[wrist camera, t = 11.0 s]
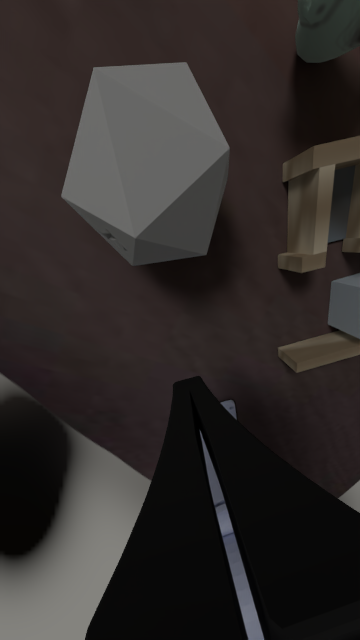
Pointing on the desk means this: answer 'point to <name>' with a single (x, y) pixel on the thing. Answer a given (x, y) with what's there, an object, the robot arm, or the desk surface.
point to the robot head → (327, 29)
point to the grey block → (345, 305)
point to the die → (148, 162)
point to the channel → (321, 233)
